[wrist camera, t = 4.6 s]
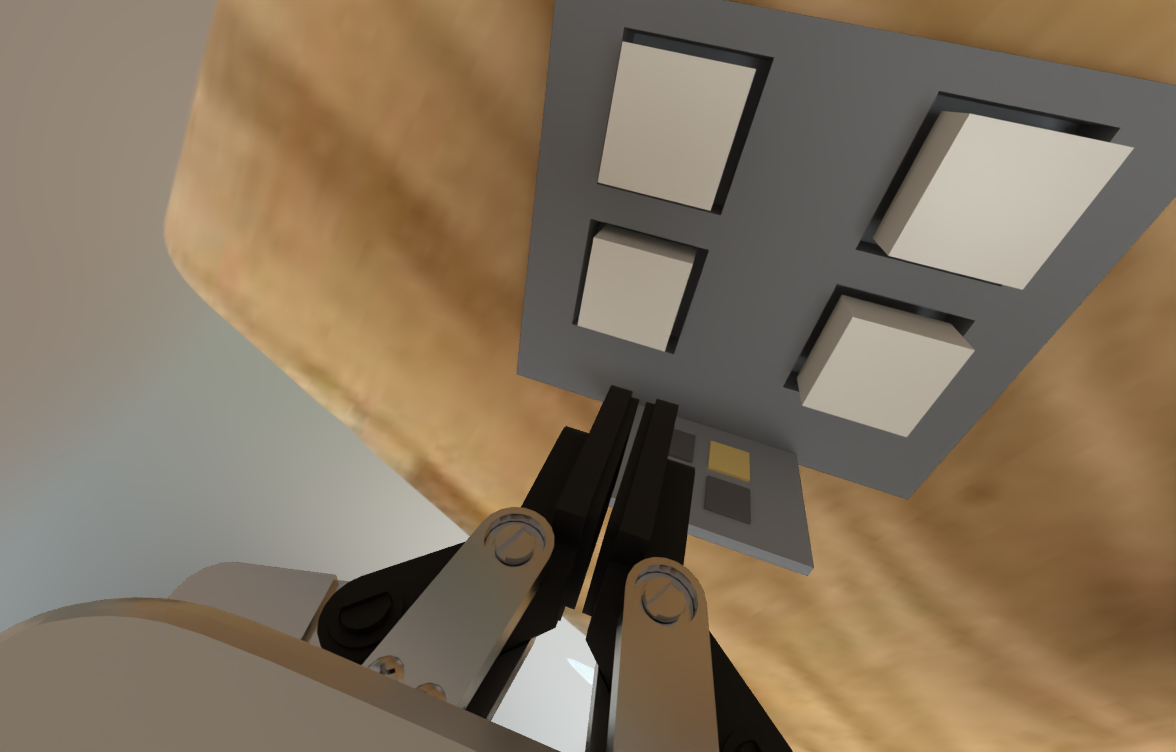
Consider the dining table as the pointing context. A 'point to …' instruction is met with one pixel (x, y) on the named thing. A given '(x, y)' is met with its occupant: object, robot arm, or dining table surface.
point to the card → (740, 493)
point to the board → (815, 220)
